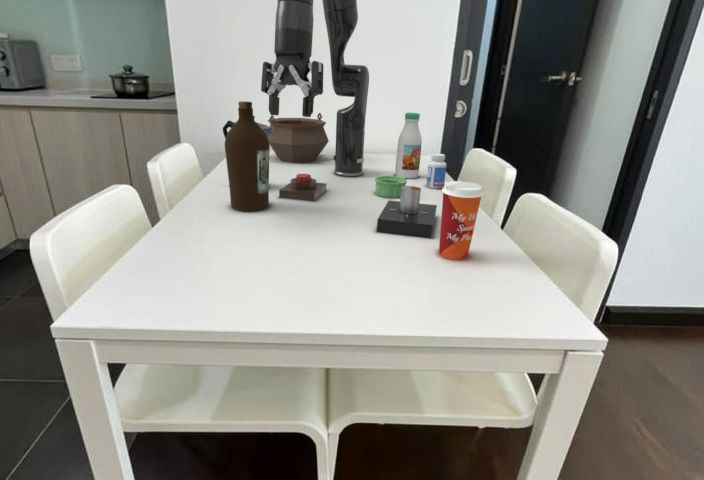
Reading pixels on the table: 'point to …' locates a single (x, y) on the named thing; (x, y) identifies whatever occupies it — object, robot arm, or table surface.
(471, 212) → the paper cup
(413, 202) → the knob
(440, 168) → the pill bottle
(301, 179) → the power button
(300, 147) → the brown cauldron
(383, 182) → the ramekin
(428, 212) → the panel
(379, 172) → the table surface
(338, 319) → the table surface
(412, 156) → the milk bottle
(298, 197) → the dark brown square base
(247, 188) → the olive oil
